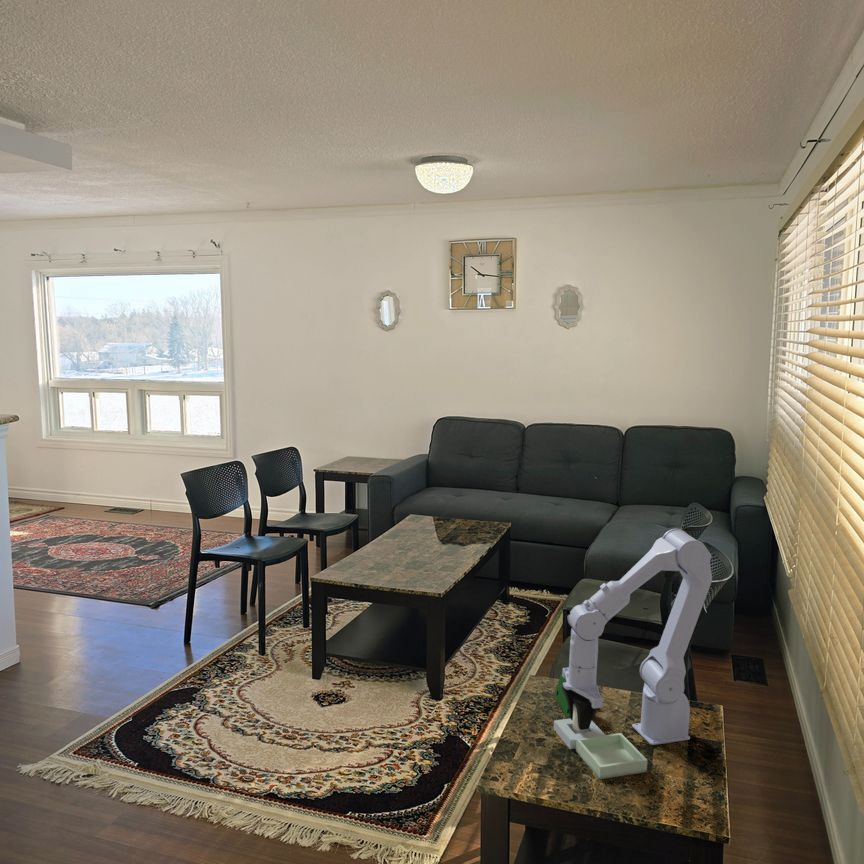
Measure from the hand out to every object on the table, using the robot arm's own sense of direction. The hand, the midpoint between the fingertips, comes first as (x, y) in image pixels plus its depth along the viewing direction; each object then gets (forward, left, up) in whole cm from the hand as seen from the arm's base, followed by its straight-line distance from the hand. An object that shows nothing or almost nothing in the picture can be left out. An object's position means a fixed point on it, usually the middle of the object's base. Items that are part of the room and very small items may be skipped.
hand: (579, 723), depth 163 cm
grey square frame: (0, 0, -3) cm, 3 cm away
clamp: (-5, -11, -3) cm, 12 cm away
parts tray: (-2, +10, -3) cm, 10 cm away
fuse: (0, 0, -3) cm, 3 cm away
